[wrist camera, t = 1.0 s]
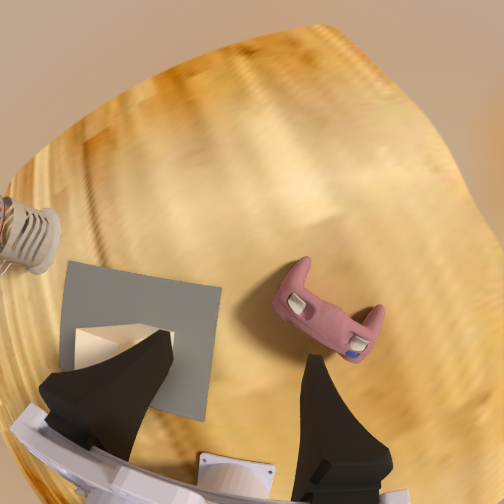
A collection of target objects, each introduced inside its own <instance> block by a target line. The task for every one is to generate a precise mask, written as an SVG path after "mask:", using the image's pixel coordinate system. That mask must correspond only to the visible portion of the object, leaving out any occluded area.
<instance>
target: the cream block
mask: <svg viewBox="0 0 504 504" xmlns="http://www.w3.org/2000/svg"><path fill="white" fill-rule="evenodd" d="M159 329H161V328H156V327H152V326H148V325H144V324H140V323H138V324H128V325H116V326H104V327H90V328H76V338H75V367H74V370H78V369H82V368H86V367H89V366H92V365H95V364H98V363H101V362H103V361H105V360H108V359H110V358H112V357H114V356H116V355H118V354H120V353H122V352H124V351H126V350H127V349H129V348H131V347H133V346H134V345H136V344H137V343H139V342H141V341H142V340H144V339H145V338H147V337H148V336H150V335H151V334H153V333H155V332H156V331H158V330H159ZM161 330H165V329H161ZM165 331H169V330H165ZM170 335H171V343H172V350H173V341H174V331H170ZM170 369H171V368H170Z"/></svg>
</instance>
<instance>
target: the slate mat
mask: <svg viewBox="0 0 504 504" xmlns="http://www.w3.org/2000/svg"><path fill="white" fill-rule="evenodd" d="M221 290H222V288H220V287H213V286H207V285H200V284H194V283H187V282H181V281H175V280H169V279H163V278H157V277H152V276H146V275H140V274H135V273H129V272H124V271H119V270H113V269H108V268H103V267H98V266H93V265H88V264H83V263H79V262H74V261H68V267H67V273H66V279H65V287H64V294H63V303H62V314H61V327H60V349H59V368H61V369H63V370H65V371H67V372H68V371H73V370H74V367H75V338H76V328H90V327H104V326H116V325H128V324H138V323H140V324H144V325H148V326H152V327H156V328H161V329H165V330H169V331H174V341H173V356H174V361H173V363H172V366H171V369H170V370H169V373H168V375H167V377H166V378H165V380H164V382H163V383H162V385H161V387H160V388H159V390H158V392H157V393H156V395H155V397H154V398H153V400H152V402H151V403H150V405H149V407H152V408H155V409H158V410H161V411H164V412H168V413H171V414H174V415H178V416H181V417H185V418H189V419H193V420H196V421H200V422H204V421H205V414H206V405H207V397H208V388H209V380H210V372H211V364H212V356H213V348H214V340H215V333H216V326H217V318H218V311H219V304H220V297H221Z"/></svg>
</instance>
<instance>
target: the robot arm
mask: <svg viewBox="0 0 504 504" xmlns="http://www.w3.org/2000/svg"><path fill="white" fill-rule="evenodd" d="M173 361H174V356H173V350H172V343H171V335H170V331H165V330H161V329H159V330H158V331H156V332H155V333H153V334H151V335H150V336H148V337H147V338H145V339H144V340H142V341H141V342H139V343H137V344H136V345H134V346H133V347H131V348H129V349H127V350H126V351H124V352H122V353H120V354H118V355H116V356H114V357H112V358H110V359H108V360H105V361H103V362H101V363H98V364H95V365H92V366H89V367H86V368H82V369H78V370H73V371H68V372H60V373H51V374H50V375H49V376H48V378H47V379H46V380H45V381H44V382H43V383H42V384H41V385H40V386H39V392H40V395H41V397H42V398H43V400H44V401H45V403H46V404H47V406H48V408H49V409H50V411H51V412H50V413H49V414H47V413H46V412H45V411H44V410H43V409H41V408H40V407H39V406H37V405H36V404H34V403H33V402H31V403H30V404H29V405H28V407H27V408H26V409H25V410H24V411H23V412H22V413H21V415H20V416H19V417H18V418H17V419H16V421H15V422H14V423H13V424H12V425H11V426H10V430H11V431H12V433H13V434H14V435H15V436H16V437H17V438H18V439H19V440H20V442H21V443H22V444H23V445H24V446H25V447H26V448H27V449H28V450H29V451H30V452H31V453H32V454H33V455H35V456H36V457H37V458H38V459H40V460H41V461H42V462H43V463H45V464H46V465H47V466H49V467H50V468H51V469H53V470H54V471H55V472H57V473H58V474H59V475H61V476H62V477H64V478H65V479H66V480H68V481H69V482H71V483H72V484H74V485H75V486H77V487H78V488H80V489H81V490H83V491H85V492H86V493H88V494H89V495H88V497H87V499H86V501H85V502H84V504H410V500H409V491H408V490H407V489H405V490H399V491H393V492H387V493H383V494H380V495H379V489H381V481H382V480H383V479H384V478H385V477H386V476H387V475H388V474H389V473H390V472H391V471H392V470H393V462H392V457H391V454H390V451H389V448H387V447H386V446H385V445H383V444H382V443H381V442H379V441H378V440H377V439H376V438H374V437H373V436H372V435H371V434H370V433H369V432H368V431H367V430H366V429H365V428H364V427H363V426H362V425H361V424H360V423H359V421H358V420H357V419H356V418H355V417H354V415H353V414H352V413H351V411H350V410H349V409H348V407H347V406H346V404H345V403H344V401H343V400H342V398H341V396H340V395H339V393H338V391H337V389H336V388H335V386H334V384H333V382H332V380H331V378H330V375H329V373H328V371H327V368H326V366H325V363H324V360H323V357H322V356H321V355H312V354H309V355H308V359H307V363H306V367H305V371H304V375H303V379H302V384H301V394H300V447H299V455H298V462H297V469H296V475H295V481H294V487H293V492H292V497H291V501H279V500H269V499H268V497H269V494H270V490H271V486H272V482H273V478H274V474H275V470H276V467H275V465H272V464H265V463H258V462H251V461H245V460H239V459H234V458H228V457H223V456H219V455H214V454H210V453H206V452H203V453H201V455H200V461H199V472H198V483H197V486H195V485H191V484H187V483H184V482H181V481H177V480H174V479H171V478H168V477H165V476H162V475H159V474H156V473H154V472H151V471H148V470H146V469H143V468H141V467H138V466H136V465H133V464H131V463H129V462H128V461H129V457H130V454H131V450H132V447H133V444H134V441H135V438H136V435H137V433H138V430H139V428H140V425H141V423H142V420H143V418H144V416H145V413H146V411H147V409H148V407H149V405H150V403H151V402H152V400H153V398H154V397H155V395H156V393H157V392H158V390H159V388H160V387H161V385H162V383H163V382H164V380H165V378H166V377H167V375H168V373H169V370H170V368H171V366H172V363H173ZM203 459H206V461H204V460H203ZM268 471H272V472H268Z"/></svg>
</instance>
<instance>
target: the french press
mask: <svg viewBox="0 0 504 504" xmlns="http://www.w3.org/2000/svg"><path fill="white" fill-rule="evenodd" d="M12 204H13V209H12V210H11V211H10V212H9V213H8V214H6V216H5V211H6V210H7V209H8V208H9V207H10V206H11V205H12ZM25 209H26V210H27V212H25ZM13 212H14V214H13V217H12V218H11V219H10V220H9V221H8V222H7V223H6V225H5V227H4V229H3V232H2V228H3V223H4V221H5V220H6V219H7V218H8V217H9V216H10V215H11V214H12V213H13ZM31 212H33V214H32V213H31ZM28 214H29V215H30V217H29V218H28V219H26V216H27V215H28ZM12 222H13V223H12ZM11 223H12V227H11V229H10V232H9V234H8V241H7V244H6V231H7V229H8V226H9V225H10V224H11ZM1 232H2V241H3V245H4V247H2V246H1V243H0V259H3V260H4V261H3V263H2V264H1V265H0V268H1V267H2V265H3V264H4V262H5V261H6V260H7V261H11V262H10V263H9V265H8V266H7V268H6V269H5V271H4V272H3V273H1V274H0V277H1V276H2V275H3V274H4V273H5V272H6V270H7V269H8V268H9V266H10V265H11V264H16V265H21V266H26V267H27V269H28V270H29V271H30V272H31V273H33V274H36V275H39V274H41V273H44V272H46V270H47V269H48V268H49V267H50V266H51V264H52V263H53V261H54V259H55V256H56V254H57V252H58V248H59V243H60V238H61V224H60V220H59V217H58V214H57V213H56V212H55V211H54V210H53V209H52V208H43V209H42V210H40V211H39V210H37V209H34V208H32V207H30V206H28V205H25V204H23V203H21V202H19V201H17V200H14V199H12V198H10V197H4V198H2V197H1V196H0V235H1ZM14 242H15V248H16V249H15V251H14V249H13V244H14Z"/></svg>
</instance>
